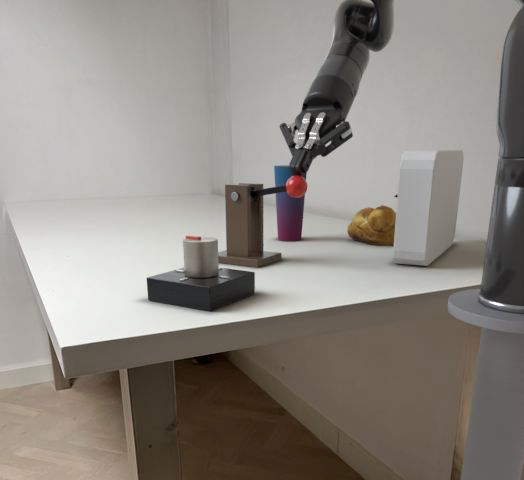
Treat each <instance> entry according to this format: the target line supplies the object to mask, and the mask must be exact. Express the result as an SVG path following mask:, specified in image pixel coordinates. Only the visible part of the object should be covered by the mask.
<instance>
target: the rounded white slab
mask: <svg viewBox="0 0 524 480" xmlns="http://www.w3.org/2000/svg"><path fill="white" fill-rule="evenodd" d="M463 168H464V151H463V150H462V149H434V150H433V149H429V150H428V149H427V150H424V149H423V150H405V151H404V152H403V153H402V155H401V159H400V165H399V175H398V184H397V187H398V188H397V194H395V195H394V198H396V211H395V212H396V223H395V235H394V244H393V249H392V250H393V251H392V253H393V254H392V259H393V262H394V264H398V265H408V266H418V267H419V266H420V267H428V266H429V265H430V264H431V263H433V262H434V261H435V260H436V259H437V258H438V257H440V256H441V255H443V253H445V251H447V250H448V249H449V248H450V247H452V246H453V243H454V240H455V236H456V229H457V220H458V212H459V205H460V204H459V202H460V194H461V185H462V177H463Z"/></svg>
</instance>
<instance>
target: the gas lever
mask: <svg viewBox="0 0 524 480" xmlns="http://www.w3.org/2000/svg"><path fill="white" fill-rule="evenodd" d="M308 187H309V186H308V181H307V179H306V180H305V179H304V178H303V177H302V176H299V175H295V176H292V177H291V178H289V179H288V181H287V183H286V185H283V186H277V187H275V186H271V187H267V188H263V189H260V190H254V186H252V187H251V202H253V201H256V198H255V197H257V196H263V197H264V196H269V195H276V193H281V192H287V193H288V194H289V195H290V196H291V197H294V198H299V197H302V196H303V195H304V194H305V195H306V193H307V192H308Z"/></svg>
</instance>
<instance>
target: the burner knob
mask: <svg viewBox="0 0 524 480" xmlns="http://www.w3.org/2000/svg"><path fill="white" fill-rule="evenodd" d="M182 247H183V248H182V249H183V250H182V251H183V268H184V272H185V276H187V277H192V278H208V277H214V276H217V275H218V274H219V268H220V267H219V266H220V265H219V263H218V252H219V238H217V237H213V236H200V235H199V236H198V235H189V234H188V235H185V238H183V239H182Z"/></svg>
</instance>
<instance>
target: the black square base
mask: <svg viewBox="0 0 524 480" xmlns="http://www.w3.org/2000/svg"><path fill="white" fill-rule="evenodd" d="M255 279H256V272H255V271H248V270H241V269H234V268H226V267H219V274H218V275H217V276H214V277H208V278H192V277H187V276H185V272H184V267H181V268H177V269H174V270H169V271H166V272H162V273H159V274H158V273H157V274H155V275H152V276H147V277H146V288H147V289H146V290H147V300H148V301H149V302H150V301H151V302H154V303H155V302H156V303H160V304H168V305H171V306H177V307H184V308H188V309H195V310H200V311H205V312H206V311H207V312H212V311H216V310H218V309H220V308H222V307H225V306H228V305H230V304H233V303H236V302H238V301H240V300H243V299H245V298H248V297H250V296H253V295H255V293H256V280H255Z"/></svg>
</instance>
